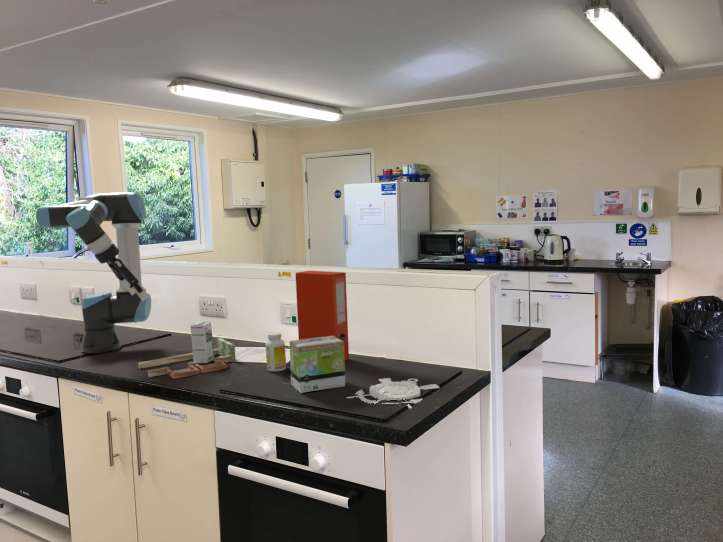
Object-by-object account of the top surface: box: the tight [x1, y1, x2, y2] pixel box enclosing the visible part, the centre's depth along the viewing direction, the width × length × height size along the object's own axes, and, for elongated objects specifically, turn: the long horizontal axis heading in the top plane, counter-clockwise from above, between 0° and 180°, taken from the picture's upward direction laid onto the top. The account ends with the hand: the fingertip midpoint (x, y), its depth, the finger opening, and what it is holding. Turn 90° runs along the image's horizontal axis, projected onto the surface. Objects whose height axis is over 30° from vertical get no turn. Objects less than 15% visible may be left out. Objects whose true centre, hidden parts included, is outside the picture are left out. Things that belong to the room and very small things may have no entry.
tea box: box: [289, 336, 346, 394], centre depth 189 cm, size 15×10×15 cm
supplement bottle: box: [265, 331, 287, 373], centre depth 209 cm, size 7×7×13 cm
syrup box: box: [189, 321, 215, 364], centre depth 224 cm, size 6×6×14 cm
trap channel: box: [137, 337, 236, 380], centre depth 218 cm, size 23×32×6 cm
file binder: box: [295, 270, 350, 361], centre depth 220 cm, size 8×17×32 cm, turn 53°
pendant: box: [346, 377, 440, 409], centre depth 181 cm, size 21×28×1 cm
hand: (140, 295), depth 216 cm, fingers open, 13 cm apart
